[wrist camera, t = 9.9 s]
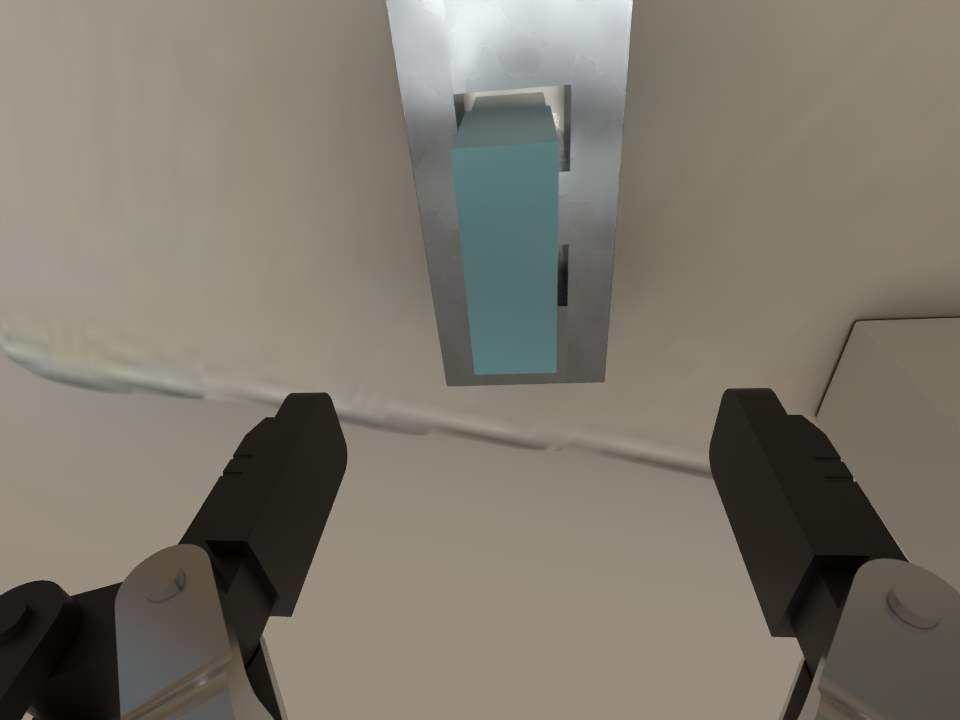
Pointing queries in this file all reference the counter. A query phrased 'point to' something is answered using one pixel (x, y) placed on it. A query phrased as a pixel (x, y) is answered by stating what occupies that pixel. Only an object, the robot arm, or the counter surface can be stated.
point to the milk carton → (904, 432)
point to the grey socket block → (582, 150)
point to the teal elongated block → (509, 231)
